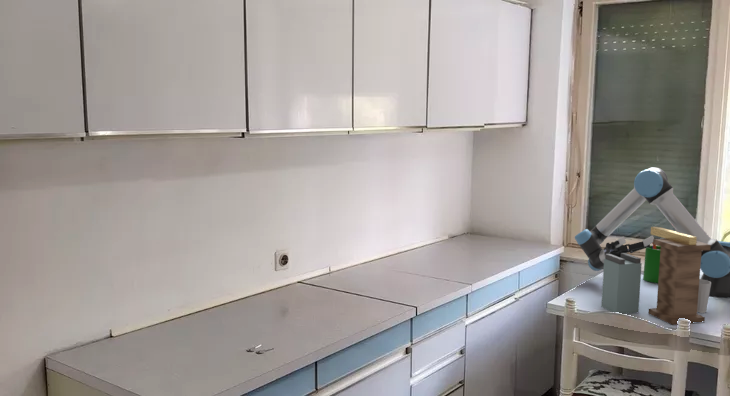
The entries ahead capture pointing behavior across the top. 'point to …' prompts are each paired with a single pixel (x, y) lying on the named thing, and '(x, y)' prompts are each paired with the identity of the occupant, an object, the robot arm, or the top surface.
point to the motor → (652, 264)
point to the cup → (703, 295)
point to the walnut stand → (678, 281)
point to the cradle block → (621, 283)
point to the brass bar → (674, 235)
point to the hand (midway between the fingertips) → (638, 239)
